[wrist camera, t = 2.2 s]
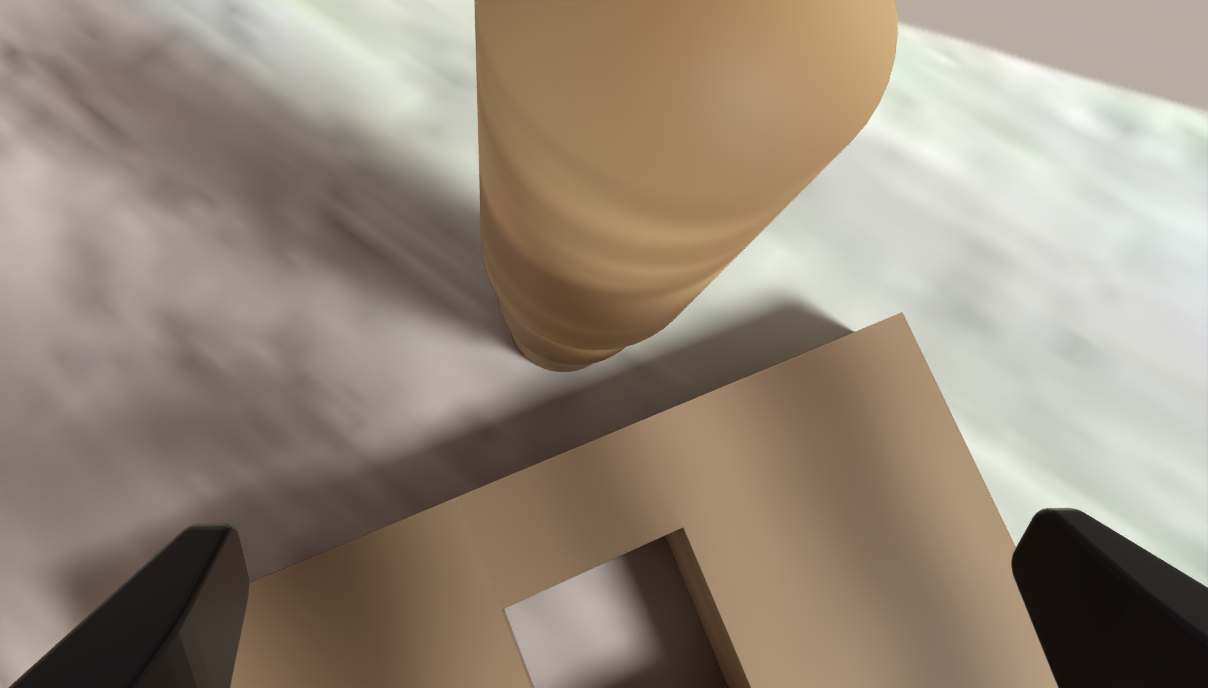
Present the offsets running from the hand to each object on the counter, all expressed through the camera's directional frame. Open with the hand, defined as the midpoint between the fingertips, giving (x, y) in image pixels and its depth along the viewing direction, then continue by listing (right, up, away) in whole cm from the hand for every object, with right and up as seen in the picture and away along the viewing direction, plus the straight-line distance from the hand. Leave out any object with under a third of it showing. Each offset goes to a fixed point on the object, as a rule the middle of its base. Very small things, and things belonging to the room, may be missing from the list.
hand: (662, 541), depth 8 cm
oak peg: (-2, +3, +13) cm, 13 cm away
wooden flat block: (0, -6, +11) cm, 12 cm away
